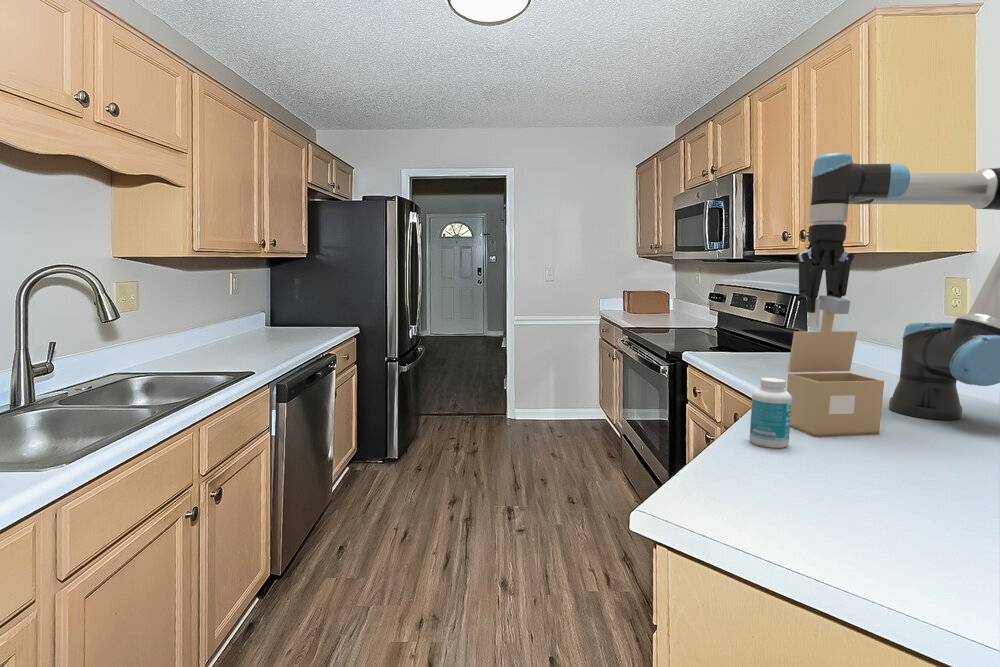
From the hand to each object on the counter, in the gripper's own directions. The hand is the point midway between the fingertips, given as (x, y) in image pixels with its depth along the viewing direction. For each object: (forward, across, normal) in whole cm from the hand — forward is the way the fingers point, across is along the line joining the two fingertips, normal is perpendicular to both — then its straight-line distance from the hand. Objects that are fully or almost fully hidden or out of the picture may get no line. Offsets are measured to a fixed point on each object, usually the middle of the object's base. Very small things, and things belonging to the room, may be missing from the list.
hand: (820, 326), depth 134 cm
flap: (+2, 0, +6) cm, 6 cm away
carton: (+23, 0, +6) cm, 24 cm away
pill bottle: (+23, +21, +14) cm, 34 cm away
